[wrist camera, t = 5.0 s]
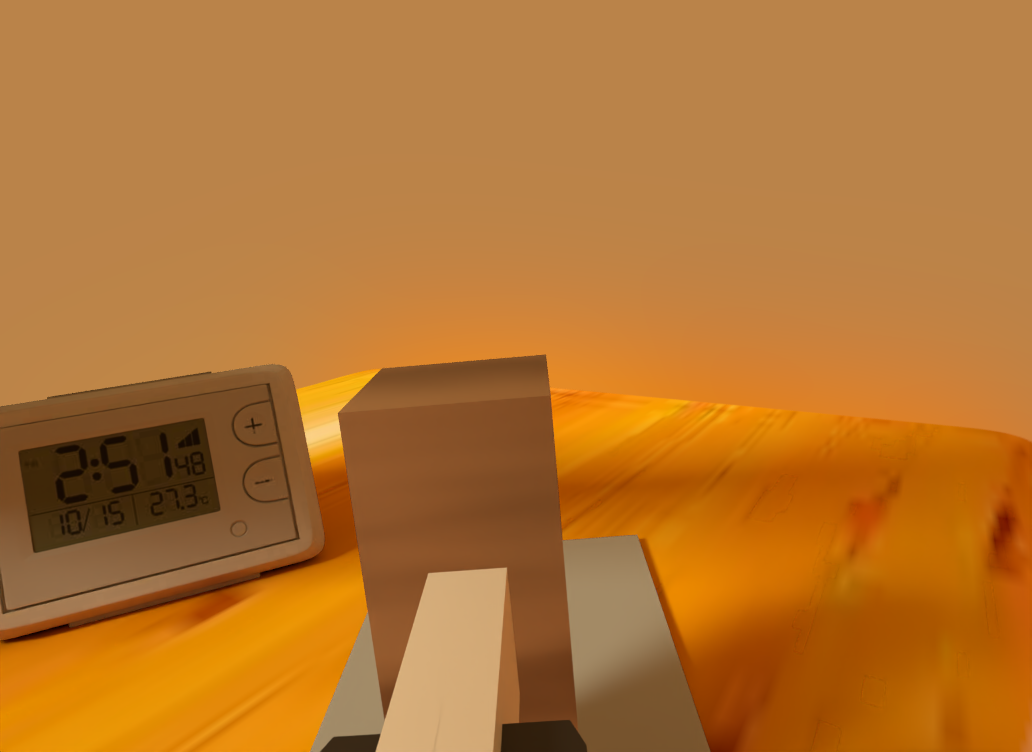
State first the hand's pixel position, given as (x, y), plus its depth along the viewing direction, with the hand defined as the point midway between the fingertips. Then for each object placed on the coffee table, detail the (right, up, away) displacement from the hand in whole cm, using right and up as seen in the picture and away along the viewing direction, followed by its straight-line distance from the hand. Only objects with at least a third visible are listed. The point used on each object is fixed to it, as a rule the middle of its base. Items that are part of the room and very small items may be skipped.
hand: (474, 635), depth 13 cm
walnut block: (0, -8, +6) cm, 10 cm away
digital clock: (-18, -6, +24) cm, 30 cm away
